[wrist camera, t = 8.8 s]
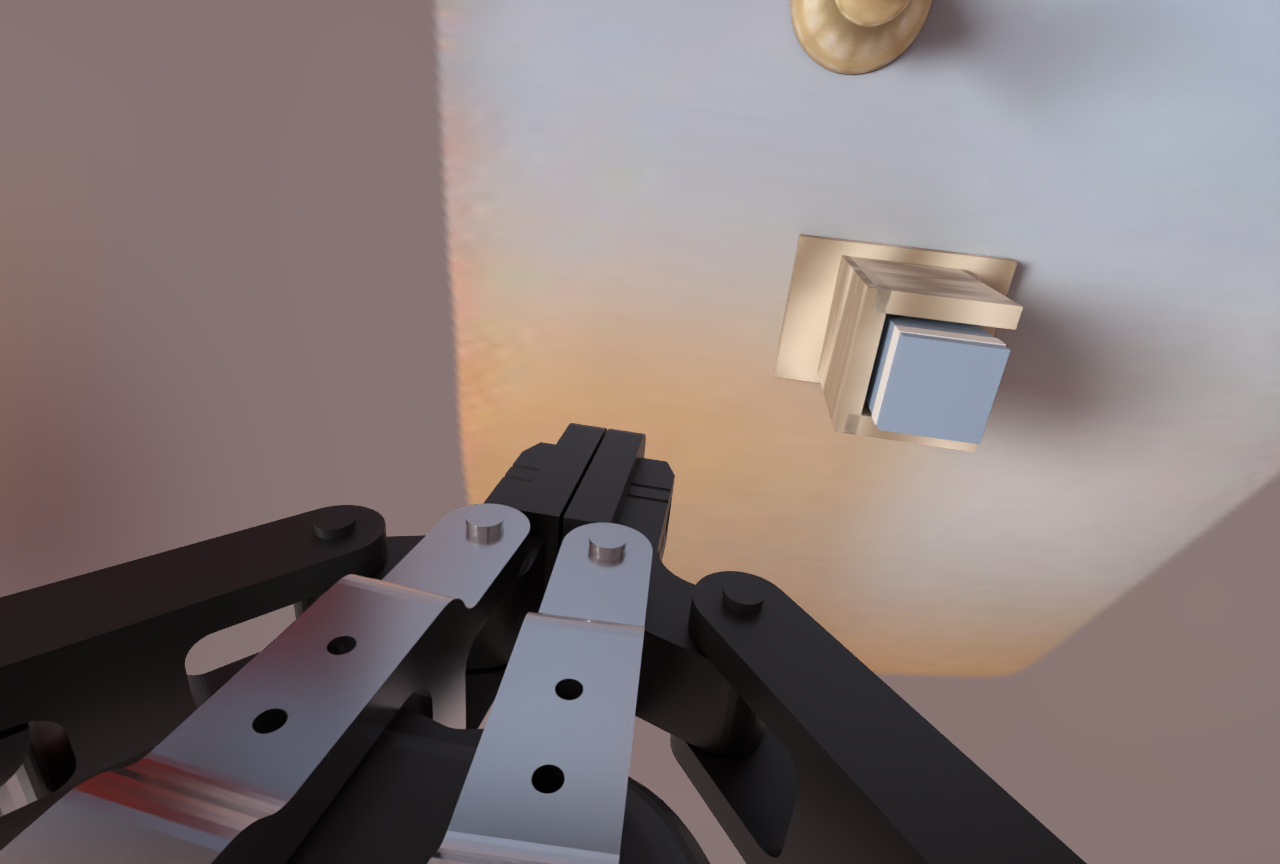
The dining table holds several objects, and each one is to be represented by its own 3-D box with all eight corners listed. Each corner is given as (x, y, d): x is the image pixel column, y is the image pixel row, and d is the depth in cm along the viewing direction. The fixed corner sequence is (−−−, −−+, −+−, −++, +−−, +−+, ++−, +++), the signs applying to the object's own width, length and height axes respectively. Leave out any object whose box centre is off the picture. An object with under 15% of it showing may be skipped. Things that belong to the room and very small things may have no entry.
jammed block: (938, 291, 45) (1012, 349, 32) (918, 363, 47) (979, 445, 34) (860, 281, 45) (902, 335, 32) (844, 353, 47) (877, 430, 34)
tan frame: (1011, 258, 44) (1100, 297, 33) (967, 398, 49) (1033, 475, 37) (799, 234, 46) (815, 263, 34) (774, 371, 50) (780, 438, 39)
